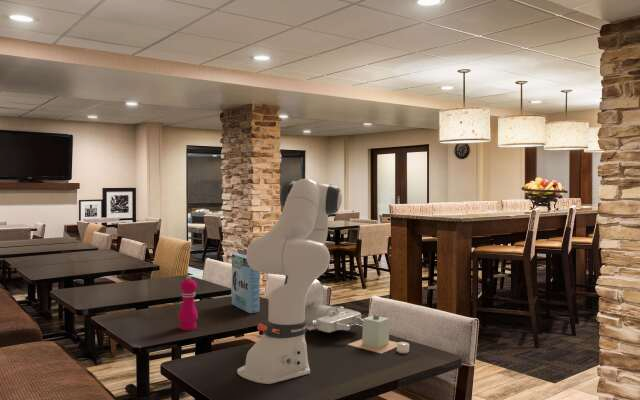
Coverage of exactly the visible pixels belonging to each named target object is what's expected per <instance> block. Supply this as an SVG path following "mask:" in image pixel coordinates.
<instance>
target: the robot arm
mask: <svg viewBox="0 0 640 400" xmlns="http://www.w3.org/2000/svg"><path fill="white" fill-rule="evenodd" d="M278 194H279V195H278V197H279V198H278V199H279V202H280V205H281V206H282V212H281V214H280V216H279V218H278V221H277V222H276V224H275V225H274V226H273V227H272V228H271V229H270V230H269V231H268V232H266V233H265V234H263V235H262V236H260V237H258V238H255V239H253V240H252V241H251V242H250V243H249V245H248V246H247V247H248V248H247V249H246V254H245V255H246V258H247V262H248V265H249V266H250V268H251V269H252V270H255V271H258V272H260V273H262V274H267V275H281V276H285V278H284V283H283V284H282V285H280V286H278V287H276V288H275V289H273V290H272V291H271V292H270V294H269V297H268V312H267V313H268V315H267V317H268V318H267V320H266V322H265V324H264V323H259V324H258V325H257V327H256V328H257V330H258V331H261V332H263V334H262V335H261V337H259V339H258V340H257V341H256V342H255V344H253V346H251V348H249V350H248V351H247V353H246V358H245V364H244V365H243V366H241V367H239V368H237V369H236V370H237V371H236V372H237V375H239V376H240V377H242V378H243V379H246V380H248V381H251V382H255V383H258V384H266V385H267V384H268V385H271V384H275V383H278V382H283V381H286V380H291V379H293V378H297V377H301V376H305V375H308V374H310V373H311V369H310V365H309V360H308V359H309V358H308V349H307V348H308V346H307V341H306V332H307V327H314V328H315V329H316V330H318V331H322V332H324V333H333V332H336V331H349V330H351V326H354V325H357V324H359V325H360V326H363V318H362V314H361V312H359V311H357V310H353V309H349V308H345V307H344V306H341V305H339V306H337V305H335V306H331V305H323V304H324V298H325V290H324V289H325V288H324V286H323V284H322V282H321V281H320V280H318V278H320V276H322V275H323V274H324V273H326V271H327V270H328V268H329V266H330V262H331V255H330V251H329V248H328V247H327V245H325V244H326V241H327V238H328V233H329V232H328V231H329V230H328V229H329V216H330V215H335V214H336V213H338V212H339V210H340V209H341V206H342V203H343V195H342V191H341V189H340V187H339V186H338V185H334V184H328V183H322V182H316V181H315V180H312V179H309V178H300V179H298V180H294V179H292V180H291V179H290V180H286V181H285V182H284V183H283V184H282V185H281V188H280V190H279V193H278Z"/></svg>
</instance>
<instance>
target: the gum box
mask: <svg viewBox="0 0 640 400" xmlns="http://www.w3.org/2000/svg"><path fill="white" fill-rule="evenodd" d="M260 273H261V272H258V271H255V270H252V269H251V268H250V266H249V265H248V262H247V258H246V254H245V253H244V254H243V253H242V252H240V253H239V252H237V253H231V305H233V306H235V307H237V308H238V309H241V310H242V311H244V312H247V313H248V314H255V313H260V312H261V311H260V304H261V303H260V302H261V301H260V300H261V298H260V297H261V296H260V294H261V293H260V292H261V290H260V289H261V288H260V287H261V283H260V281H261V278H260V275H261V274H260Z"/></svg>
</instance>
